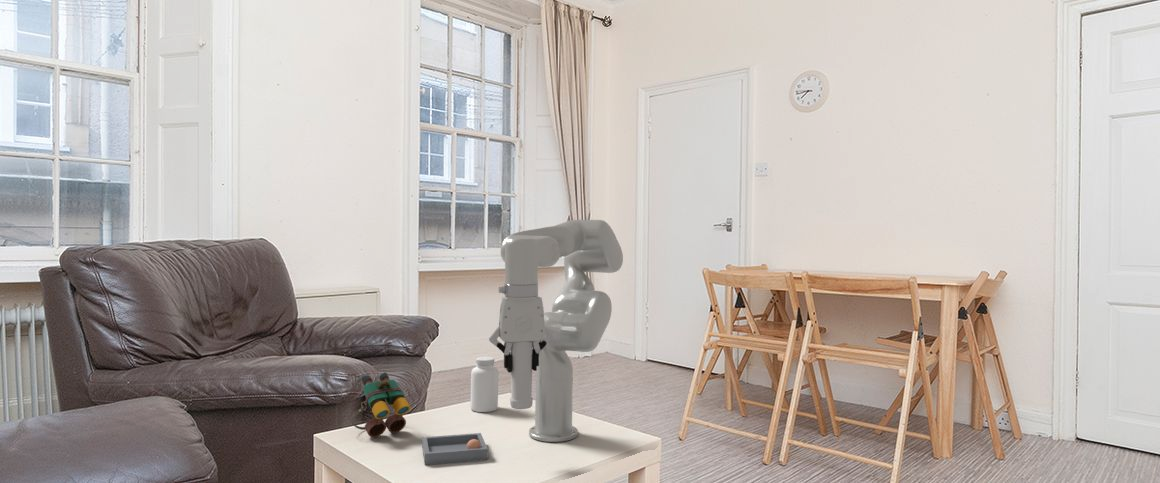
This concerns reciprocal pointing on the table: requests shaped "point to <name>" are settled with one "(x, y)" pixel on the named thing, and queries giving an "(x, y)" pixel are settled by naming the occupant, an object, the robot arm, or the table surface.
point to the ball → (473, 444)
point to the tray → (452, 449)
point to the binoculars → (383, 405)
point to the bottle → (521, 375)
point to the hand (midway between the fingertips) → (521, 369)
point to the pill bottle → (484, 385)
